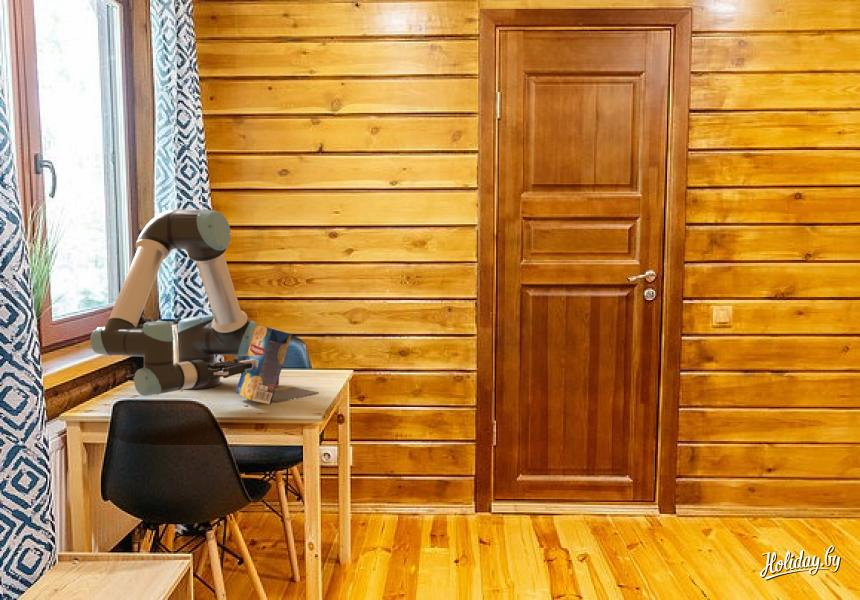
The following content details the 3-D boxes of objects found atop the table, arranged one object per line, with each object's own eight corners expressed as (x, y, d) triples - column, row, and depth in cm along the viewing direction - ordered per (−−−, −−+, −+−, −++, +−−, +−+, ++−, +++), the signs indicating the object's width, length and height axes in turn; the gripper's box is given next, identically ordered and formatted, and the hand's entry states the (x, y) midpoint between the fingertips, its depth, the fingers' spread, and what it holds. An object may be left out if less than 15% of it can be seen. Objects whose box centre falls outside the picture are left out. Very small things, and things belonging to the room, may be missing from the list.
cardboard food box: (255, 396, 234) (275, 329, 235) (270, 404, 225) (292, 334, 227) (235, 392, 229) (256, 323, 231) (250, 400, 221) (272, 329, 222)
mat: (251, 396, 234) (251, 396, 234) (293, 388, 248) (293, 387, 248) (276, 402, 227) (276, 401, 227) (318, 393, 241) (318, 392, 241)
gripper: (177, 384, 213) (244, 372, 232) (204, 391, 205) (271, 378, 224) (176, 358, 212) (243, 348, 231) (204, 364, 204) (271, 353, 223)
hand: (257, 363), depth 227 cm, fingers closed
